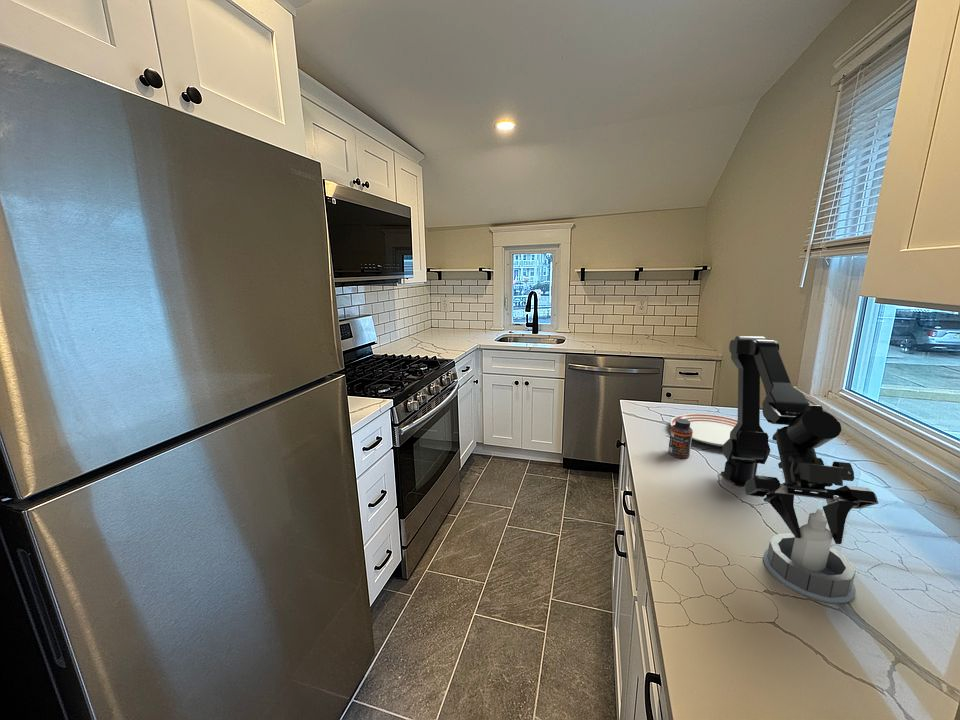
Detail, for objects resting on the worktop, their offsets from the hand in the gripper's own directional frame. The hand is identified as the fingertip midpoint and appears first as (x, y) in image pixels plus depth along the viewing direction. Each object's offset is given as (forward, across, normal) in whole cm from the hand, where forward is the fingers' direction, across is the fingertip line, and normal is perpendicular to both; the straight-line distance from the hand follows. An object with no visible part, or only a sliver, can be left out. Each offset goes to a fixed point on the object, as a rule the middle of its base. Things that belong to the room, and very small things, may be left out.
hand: (818, 540), depth 67 cm
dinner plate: (-39, +2, +52) cm, 65 cm away
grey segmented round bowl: (+5, 0, +6) cm, 8 cm away
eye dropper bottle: (+4, 0, +6) cm, 7 cm away
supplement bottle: (-26, -13, +39) cm, 48 cm away
